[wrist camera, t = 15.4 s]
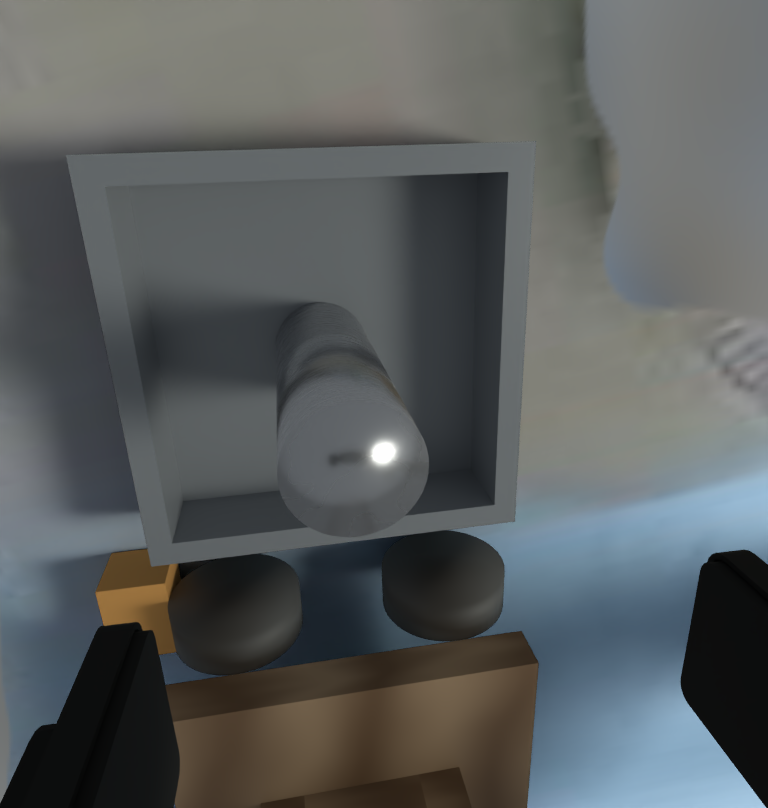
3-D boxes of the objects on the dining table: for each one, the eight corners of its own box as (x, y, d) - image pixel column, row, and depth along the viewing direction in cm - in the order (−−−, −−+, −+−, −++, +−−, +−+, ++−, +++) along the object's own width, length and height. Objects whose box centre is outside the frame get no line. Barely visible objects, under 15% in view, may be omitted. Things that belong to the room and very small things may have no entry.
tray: (494, 145, 26) (536, 141, 22) (483, 475, 32) (514, 521, 28) (101, 157, 24) (65, 154, 20) (168, 510, 30) (150, 566, 25)
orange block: (174, 545, 30) (164, 583, 28) (186, 609, 32) (178, 651, 29) (111, 553, 30) (95, 592, 27) (126, 618, 31) (112, 661, 29)
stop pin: (364, 299, 26) (429, 394, 15) (367, 385, 28) (429, 528, 17) (271, 305, 26) (269, 408, 15) (279, 392, 27) (284, 545, 16)
